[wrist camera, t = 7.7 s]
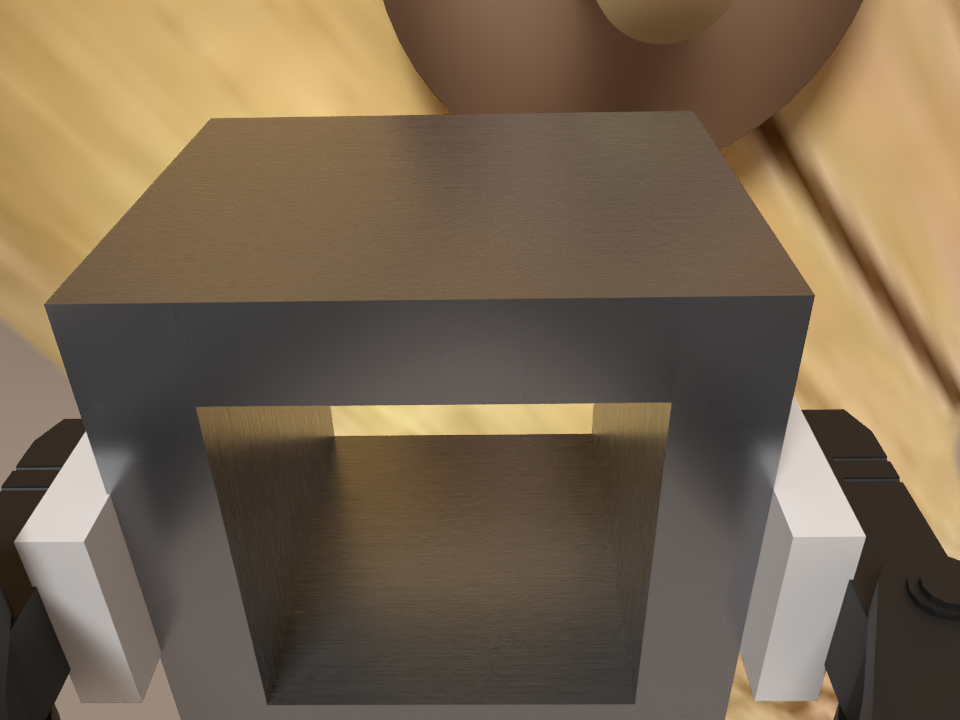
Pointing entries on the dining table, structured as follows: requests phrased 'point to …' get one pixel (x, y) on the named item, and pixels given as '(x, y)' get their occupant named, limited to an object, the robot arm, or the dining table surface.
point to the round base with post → (622, 55)
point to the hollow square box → (441, 381)
